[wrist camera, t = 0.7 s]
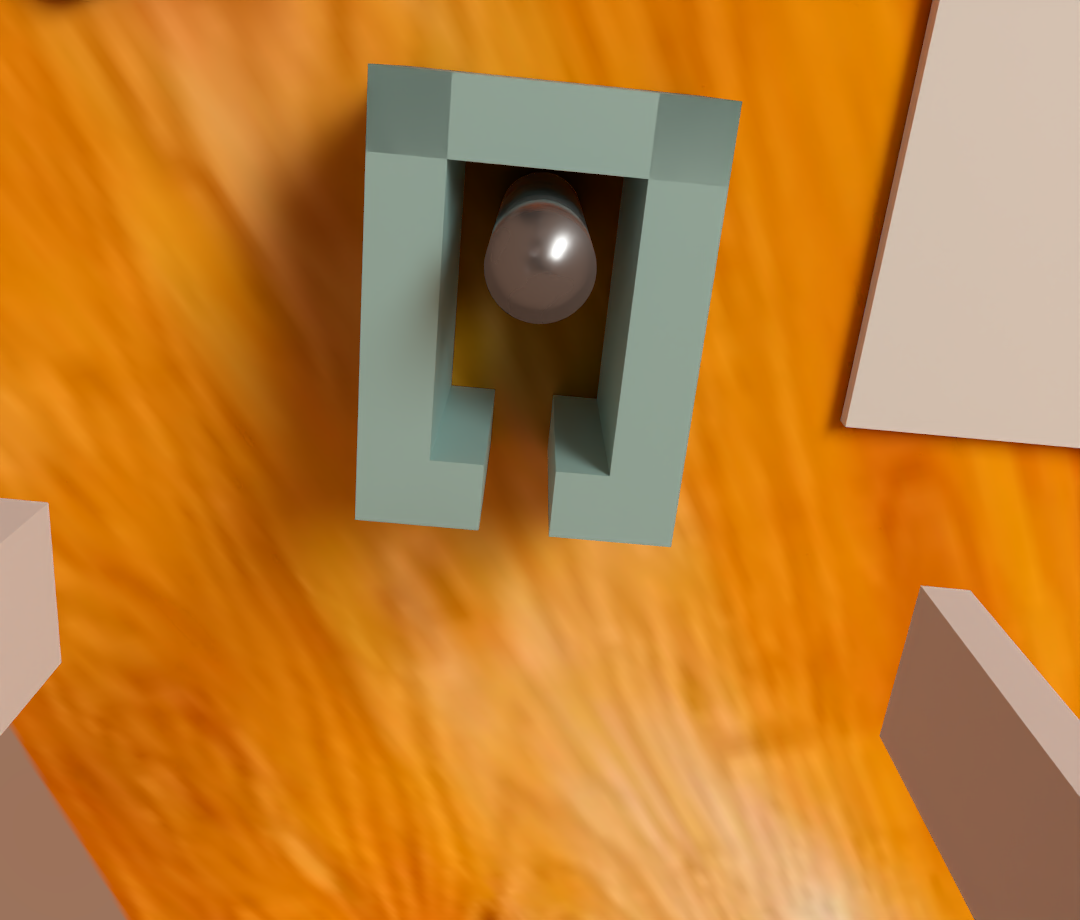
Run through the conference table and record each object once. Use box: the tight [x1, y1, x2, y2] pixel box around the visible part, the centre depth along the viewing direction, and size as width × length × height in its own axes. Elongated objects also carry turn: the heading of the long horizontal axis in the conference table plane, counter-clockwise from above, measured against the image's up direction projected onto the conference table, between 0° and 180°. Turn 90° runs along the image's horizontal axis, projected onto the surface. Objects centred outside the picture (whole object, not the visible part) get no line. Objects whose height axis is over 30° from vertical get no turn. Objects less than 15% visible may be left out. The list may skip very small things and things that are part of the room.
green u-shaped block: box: [355, 64, 742, 547], centre depth 29 cm, size 12×9×7 cm
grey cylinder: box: [484, 172, 597, 324], centre depth 27 cm, size 3×3×10 cm
